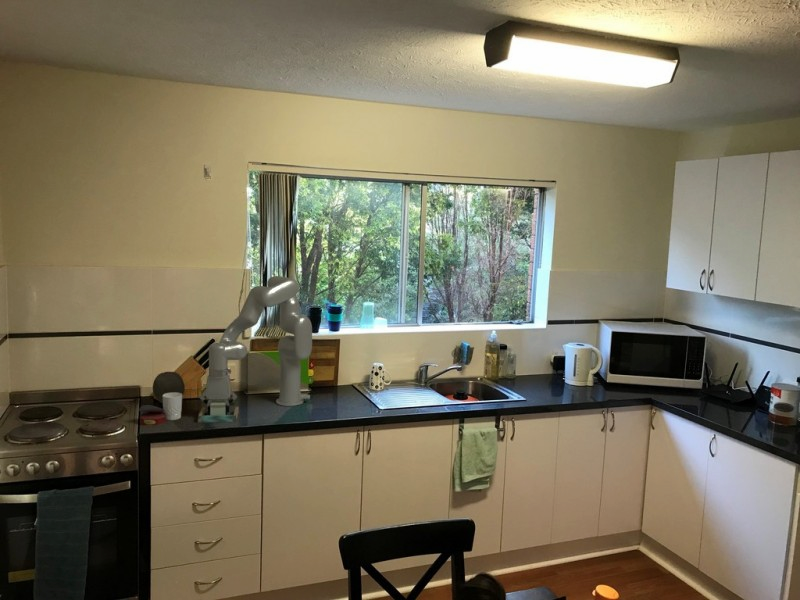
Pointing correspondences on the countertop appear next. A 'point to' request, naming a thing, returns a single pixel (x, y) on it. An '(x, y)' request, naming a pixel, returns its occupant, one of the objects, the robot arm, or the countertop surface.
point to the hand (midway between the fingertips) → (218, 413)
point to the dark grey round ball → (167, 384)
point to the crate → (218, 407)
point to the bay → (217, 417)
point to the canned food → (152, 415)
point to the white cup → (172, 405)
